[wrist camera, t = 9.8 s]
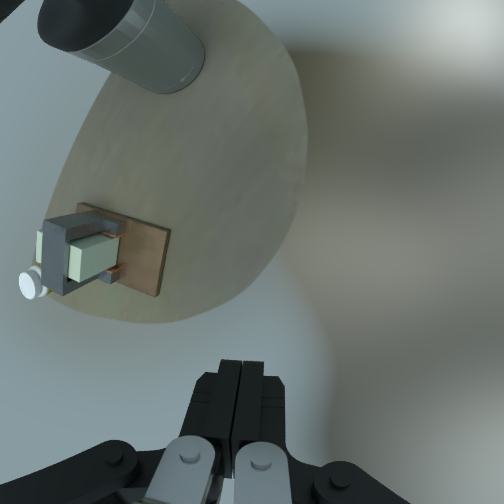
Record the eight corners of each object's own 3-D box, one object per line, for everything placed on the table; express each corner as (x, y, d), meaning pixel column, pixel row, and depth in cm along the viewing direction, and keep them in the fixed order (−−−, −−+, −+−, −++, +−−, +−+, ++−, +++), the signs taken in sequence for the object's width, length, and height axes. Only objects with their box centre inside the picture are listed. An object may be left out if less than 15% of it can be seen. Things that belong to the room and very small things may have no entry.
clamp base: (170, 230, 38) (126, 247, 28) (159, 294, 41) (117, 326, 31) (82, 202, 40) (30, 211, 30) (76, 260, 42) (28, 279, 32)
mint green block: (119, 236, 38) (81, 249, 31) (115, 264, 39) (79, 282, 32) (76, 221, 39) (37, 230, 32) (73, 247, 40) (36, 260, 33)
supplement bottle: (57, 286, 44) (23, 302, 36) (49, 258, 43) (13, 272, 35) (75, 282, 43) (40, 300, 35) (67, 253, 42) (30, 267, 34)
